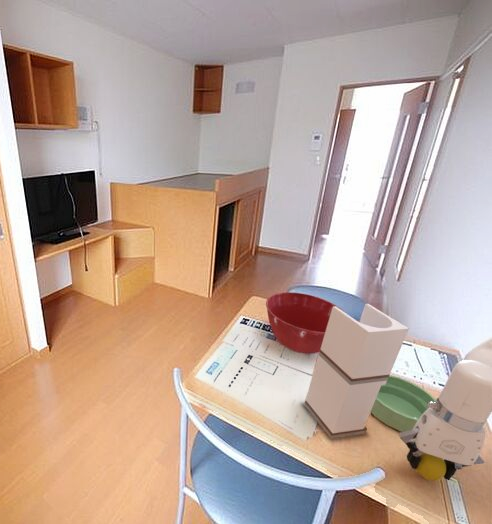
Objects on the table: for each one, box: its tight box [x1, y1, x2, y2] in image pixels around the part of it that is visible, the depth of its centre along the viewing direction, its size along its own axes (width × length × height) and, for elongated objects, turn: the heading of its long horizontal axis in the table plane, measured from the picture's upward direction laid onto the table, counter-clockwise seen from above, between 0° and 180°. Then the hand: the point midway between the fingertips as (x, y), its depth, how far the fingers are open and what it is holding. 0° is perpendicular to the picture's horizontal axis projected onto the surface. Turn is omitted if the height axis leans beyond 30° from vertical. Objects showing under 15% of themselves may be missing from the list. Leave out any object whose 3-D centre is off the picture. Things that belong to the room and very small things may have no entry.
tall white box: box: [303, 303, 409, 439], centre depth 82 cm, size 11×11×35 cm
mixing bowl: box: [265, 291, 345, 355], centre depth 119 cm, size 28×28×16 cm
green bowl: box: [370, 374, 437, 432], centre depth 91 cm, size 18×18×6 cm
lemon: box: [415, 453, 446, 482], centre depth 72 cm, size 6×6×8 cm
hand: (427, 468), depth 73 cm, fingers closed on lemon, 5 cm apart
